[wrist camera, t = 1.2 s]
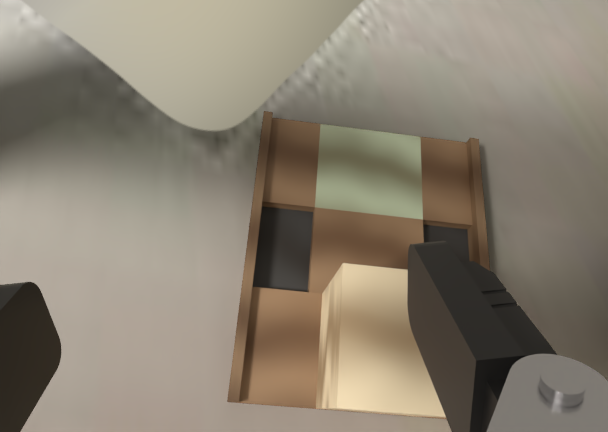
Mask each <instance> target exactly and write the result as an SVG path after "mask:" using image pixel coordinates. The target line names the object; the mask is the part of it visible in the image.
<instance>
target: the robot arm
mask: <svg viewBox="0 0 608 432" xmlns="http://www.w3.org/2000/svg"><path fill="white" fill-rule="evenodd" d="M407 306H408V316H409V322H410V326H411V330H412V333H413V336H414V338H415V341H416V343H417V346H418V348H419V351H420V353H421V356H422V358H423V361H424V363H425V366H426V368H427V371H428V373H429V376H430V378H431V381H432V383H433V386H434V388H435V391H436V393H437V396H438V398H439V401H440V403H441V406H442V408H443V411H444V413H445V416H446V418H447V421H448V423H449V426H450V428H451V431H452V432H608V381H607V380H606V379H605V378H604V377H603V376H602V375H601V374H600V373H598V372H597V371H596V370H594V369H592V368H591V367H589V366H587V365H586V364H583V363H581V362H579V361H577V360H574V359H571V358H568V357H564V356H560V355H557V354H556V352H555V351H554V350H553V349H552V347H551V346H550V345H549V343H548V342H547V341H546V340H545V338H544V337H543V336H542V334H541V333H540V332H539V331H538V329H537V328H536V327H535V325H534V324H533V323H532V322H531V320H530V319H529V318H528V316H527V315H526V314H525V313H524V311H523V310H522V309H521V308H520V306H517V304H516V301H515V300H514V299H513V297H512V296H511V295H510V293H509V292H506V288H505V287H504V286H503V284H502V283H501V282H500V281H499V279H498V278H497V277H496V275H495V274H494V273H493V272H491V271H489V270H488V269H486V268H484V267H483V266H481V265H479V264H478V263H476V262H474V261H469V262H460V260H459V259H458V257H457V256H456V254H455V253H454V251H453V250H452V248H451V247H450V246H449V244H448V243H447V242H446V241H437V242H427V243H417V244H410V246H409V249H408V293H407ZM60 358H61V343H60V339H59V336H58V333H57V331H56V328H55V326H54V323H53V321H52V318H51V316H50V313H49V311H48V308H47V306H46V303H45V301H44V298H43V296H42V293H41V291H40V289H39V287H38V286H37V285H36V284H34V283H32V282H25V283H15V284H5V285H0V432H20V431H21V429H22V428H23V426H24V424H25V423H26V421H27V419H28V417H29V416H30V414H31V412H32V411H33V409H34V407H35V406H36V404H37V402H38V401H39V399H40V397H41V395H42V394H43V392H44V390H45V389H46V387H47V385H48V384H49V382H50V380H51V378H52V377H53V375H54V373H55V372H56V370H57V368H58V366H59V363H60Z"/></svg>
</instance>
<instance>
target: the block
mask: <svg viewBox="0 0 608 432" xmlns="http://www.w3.org/2000/svg"><path fill="white" fill-rule="evenodd" d="M407 293H408V270H405V269H396V268H386V267H376V266H367V265H357V264H348V263H343V264H342V265H341V267H340V268H339V270H338V271H337V273H336V274H335V276H334V277H333V278H332V280H331V281H330V283H329V284H328V286H327V287H326V289H325V290H324V292H323V293H322V308H321V326H320V343H319V361H318V379H317V396H316V409H329V410H341V411H354V412H367V413H379V414H392V415H405V416H420V417H444V418H446V416H445V413H444V411H443V408H442V406H441V403H440V401H439V398H438V396H437V393H436V391H435V388H434V386H433V383H432V381H431V378H430V376H429V373H428V371H427V368H426V366H425V363H424V361H423V358H422V356H421V353H420V351H419V348H418V346H417V343H416V341H415V338H414V336H413V333H412V330H411V326H410V322H409V316H408V306H407Z"/></svg>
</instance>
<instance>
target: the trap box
mask: <svg viewBox="0 0 608 432" xmlns="http://www.w3.org/2000/svg"><path fill="white" fill-rule="evenodd" d="M272 114H273V112H266V111H264V114H263V122H262V130H261V138H260V146H259V154H258V162H257V170H256V178H255V186H254V194H253V202H252V210H251V218H250V226H249V234H248V241H247V249H246V257H245V265H244V273H243V281H242V289H241V297H240V305H239V313H238V321H237V329H236V337H235V345H234V353H233V361H232V369H231V377H230V385H229V392H228V400H227V402H236V403H249V404H261V405H274V406H287V407H300V408H312V409H316V396H317V379H318V361H319V343H320V326H321V308H322V293H323V292H324V290H325V289H326V287H327V286H328V284H329V283H330V281H331V280H332V278H333V277H334V276H335V274H336V273H337V271H338V270H339V268H340V267H341V265H342V264H343V263H348V264H357V265H367V266H376V267H386V268H396V269H405V270H408V249H409V246H410V244H417V243H427V242H437V241H446V242H447V243H448V244H449V246H450V247H451V248H452V250H453V251H454V253H455V254H456V256H457V257H458V259H459V260H460V262H469V261H474V262H476V263H478V264H479V265H481V266H483V267H484V268H486V269H488V270H489V271H490V265H489V253H488V242H487V230H486V219H485V207H484V196H483V184H482V173H481V161H480V150H479V139H475V138H470V139H469V140H468V141H467V143H465V142H458V141H450V140H442V139H434V138H426V137H419V136H411V135H403V134H395V133H387V132H380V131H372V130H364V129H356V128H348V127H341V126H333V125H325V124H317V123H309V122H302V121H294V120H286V119H278V118H272ZM325 410H329V409H325ZM338 411H341V410H338ZM351 412H354V411H351ZM363 413H367V412H363ZM376 414H379V413H376ZM389 415H392V414H389ZM402 416H405V415H402ZM414 417H420V416H414ZM427 418H440V419H447V418H444V417H427Z"/></svg>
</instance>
